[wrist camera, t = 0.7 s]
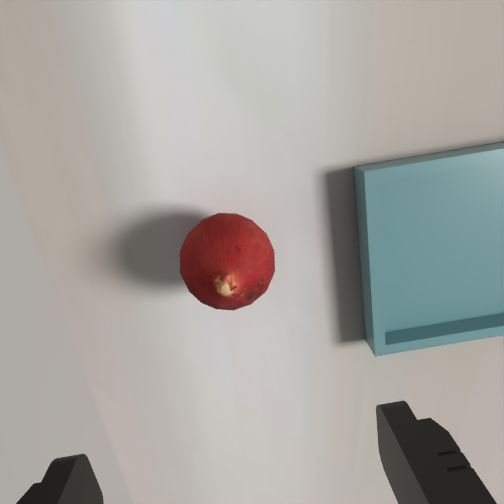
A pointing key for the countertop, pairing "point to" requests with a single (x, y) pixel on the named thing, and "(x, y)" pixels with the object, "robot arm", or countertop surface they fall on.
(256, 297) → the onion
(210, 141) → the countertop surface
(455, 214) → the tray
